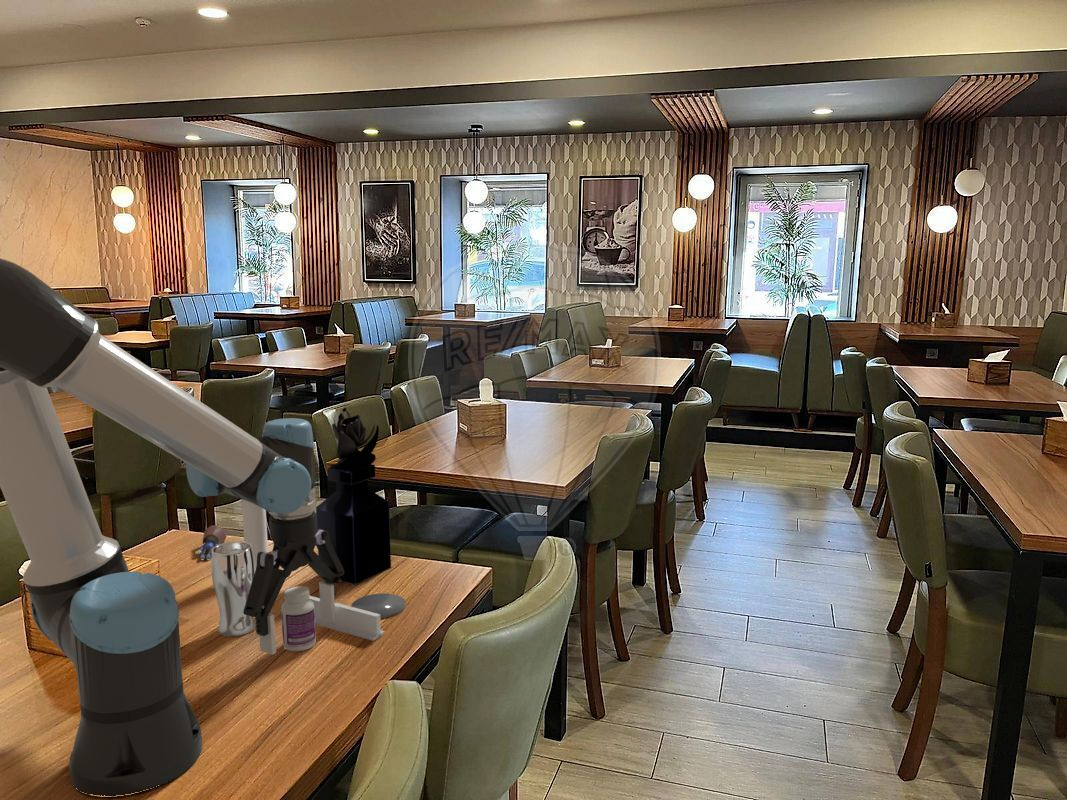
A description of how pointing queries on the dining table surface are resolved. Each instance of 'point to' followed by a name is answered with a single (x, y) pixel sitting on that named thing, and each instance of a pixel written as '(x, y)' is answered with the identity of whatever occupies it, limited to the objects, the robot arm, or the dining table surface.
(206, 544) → the figurine
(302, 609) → the pill bottle
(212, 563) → the beer glass
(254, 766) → the dining table surface
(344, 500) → the vase
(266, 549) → the candle
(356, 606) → the coaster
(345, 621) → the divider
